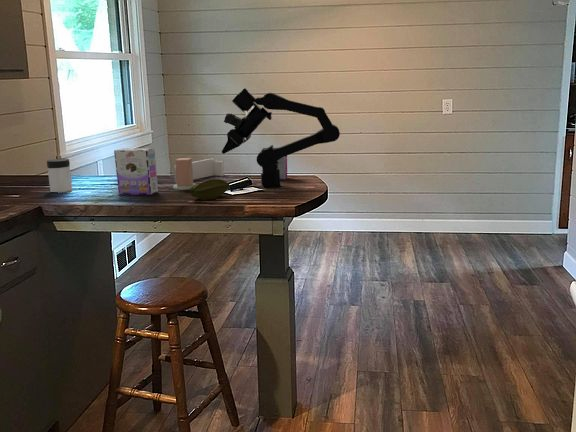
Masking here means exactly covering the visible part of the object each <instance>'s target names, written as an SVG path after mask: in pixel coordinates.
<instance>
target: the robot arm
mask: <svg viewBox="0 0 576 432" xmlns="http://www.w3.org/2000/svg"><path fill="white" fill-rule="evenodd" d="M231 102H232V103H233V104H234V105H235V106H236V107H237V108H239V110H241V111H242V112H248V113H247V114H246V116H244V117H242V118H241V117H238V116H237V115H235V114H233V113H228V112H227V113H226V115H225V117H224V121H223V123H225V124H228V125H231V126H232V127H233V126H234V127H233V128H232V129H230V130H229V131H228V132H227V134H226V137H227V141H226V142H225V145H224V146H223V148H222V150H221V153H222V154H223V155H224V154H226V153H229V152H231V151H232V150H235V149H236V148H239V147H241V146H242V144H245V143H246V142H248V141H249V140H250V138H251V137H252V134H253V132H255V131H256V130H257V129H258V127H259V126H260V125H261V124H262V122H263V121H264V120H265V119H267V120H269V121H271V120H273V119H272V118H273V117H272V113H273V111H274V110H275V111H287V112H292V113H297V114H301V115H306V116H309V117H313V118H316V119H317V121H318V122H319V124H320V126H321V129H319V130H318V131H316V132H315V133H313V134H311V135H308V136H306V137H302V138H300V139H297V140H295V141H293V142H290V143H287V144H285V145H282V146H280V147H279V146H278V147H274V145H273V144H271V145H270V146H268V147H263V148H261V151H259V152H258V154H257V155H256V162H257V165H258V166H260V167H261V171H262V172H261V173H260V185H261V186H262V187H263V189H264V188H265V189H266V188H280V187H282V185H281V180H280V170H279V169H277V168H278V165H279V162H278V160H279V159H281V158H282V157H285V156H287V157H288V156H289V155H292V154H295V153H297V152H300V151H303V150H305V149H308V148H310V147H311V148H312V147H313V146H317V145H319V144H321V145H322V144H328V143H332V142H336V141H337V140H338V139H339V138H340V136H341V135H340V134H341V132H340V128H339V127H338V126H337V125H335V124H333V123H332V121H331V120H330V118H329V116H328V114H327V113H326V110H325V108H324V107H321V106H314V105H310V104H306V103H302V102H298V101H293V100H290V99H287V98H285V97H283V96H281V95H280V94H279V95H278V94H276V93H273V92H268V93H266V94H264V95H263V96H261V97H259V96H257V97H254V96H253V94H252V93H250V91H249V90H248V89H247V88H245V87H244V88H243V89H242V90H241V91H240V92H239V93H238V94H236V96H235V97H234V98H233V99H232V100H231ZM260 106H262V107H260ZM252 107H253V108H252ZM266 109H267V110H266ZM269 110H273V111H270V112H269Z"/></svg>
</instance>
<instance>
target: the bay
mask: <svg viewBox="0 0 576 432" xmlns="http://www.w3.org/2000/svg"><path fill="white" fill-rule="evenodd" d="M224 166H225V165H224V161H221V160H215V158H214V157H212V158H207V159H202V160H197V161H192V171H193V181H194V180H198V179H203V178H206V177H211V176H217V177H218V176H220V177H224V176H225V167H224ZM173 171H174V183H175V184H177V178H176V165H173Z"/></svg>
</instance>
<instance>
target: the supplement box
mask: <svg viewBox="0 0 576 432" xmlns="http://www.w3.org/2000/svg"><path fill="white" fill-rule="evenodd" d="M278 162H279V165H278V168H277V169H279V170H280V181H285V180H286V179H288V155H287V156H285V157H282V158H281V159H279V160H278Z"/></svg>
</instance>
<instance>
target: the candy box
mask: <svg viewBox="0 0 576 432" xmlns="http://www.w3.org/2000/svg"><path fill="white" fill-rule="evenodd" d="M155 151H156V150H155V148H149V147H148V148H146V147H143V148H138V147H136V148H135V147H134V148H119V149H114V150H113V152H114V153H113V154H114V162H115V171H116V178H117V179H116V180H117V189H118V195H134V196H135V195H140V196H141V195H143V196H145V195H146V196H148V195H150V196H151V195H154V194H157V193H159V188H158V187H159V186H158V177H157V176H158V175H157V174H158V173H157V163H156V162H157V161H156V153H155Z"/></svg>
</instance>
